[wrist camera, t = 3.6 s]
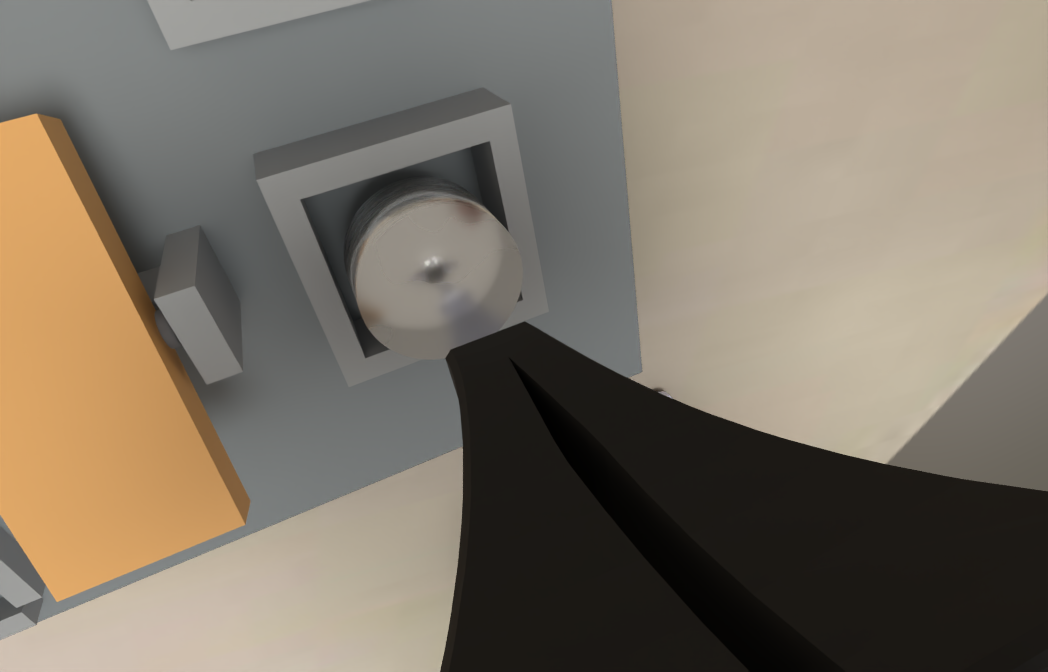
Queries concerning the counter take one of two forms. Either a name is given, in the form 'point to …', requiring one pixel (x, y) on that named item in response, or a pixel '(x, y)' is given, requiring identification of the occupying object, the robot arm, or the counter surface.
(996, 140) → the counter surface
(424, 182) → the button round
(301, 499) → the console
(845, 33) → the counter surface
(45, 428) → the rocker
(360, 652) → the counter surface
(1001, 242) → the counter surface
